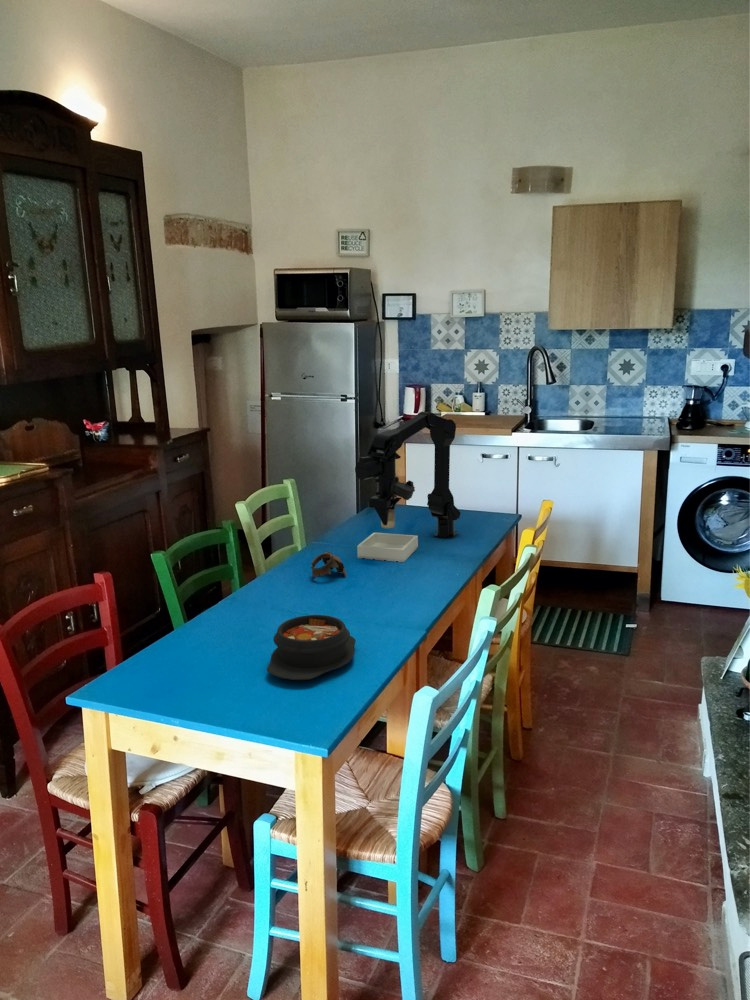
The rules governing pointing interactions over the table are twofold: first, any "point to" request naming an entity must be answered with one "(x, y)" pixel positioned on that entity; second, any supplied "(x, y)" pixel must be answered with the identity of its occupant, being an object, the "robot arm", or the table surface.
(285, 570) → the table surface
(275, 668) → the casserole
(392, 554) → the gray and white box
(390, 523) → the wooden cylinder
